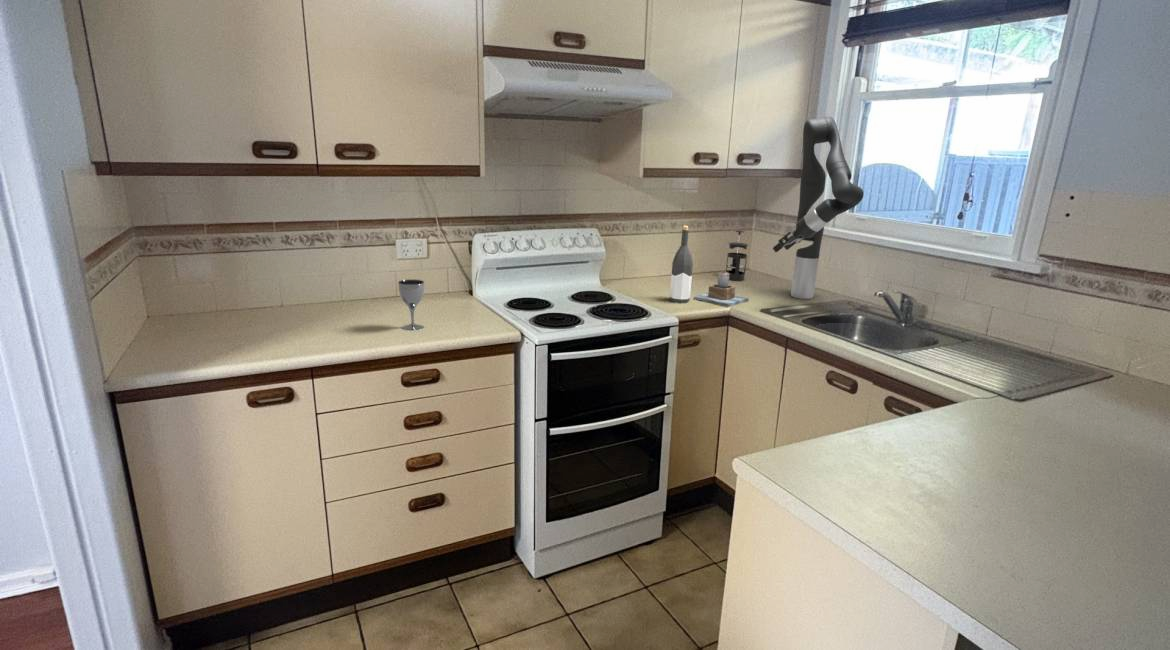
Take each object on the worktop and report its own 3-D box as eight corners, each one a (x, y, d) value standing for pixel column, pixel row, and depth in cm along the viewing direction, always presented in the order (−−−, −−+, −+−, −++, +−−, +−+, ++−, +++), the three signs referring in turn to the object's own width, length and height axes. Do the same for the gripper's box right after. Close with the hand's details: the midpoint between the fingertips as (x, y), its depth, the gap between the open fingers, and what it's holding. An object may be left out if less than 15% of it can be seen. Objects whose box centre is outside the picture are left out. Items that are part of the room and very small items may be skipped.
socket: (714, 293, 268) (715, 280, 267) (748, 300, 258) (749, 287, 256) (693, 299, 257) (694, 285, 256) (727, 307, 247) (729, 292, 245)
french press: (746, 282, 294) (752, 232, 288) (726, 280, 295) (731, 231, 289) (742, 276, 306) (747, 229, 299) (722, 275, 306) (727, 228, 300)
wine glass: (395, 326, 204) (393, 281, 200) (416, 322, 210) (415, 278, 206) (408, 332, 199) (407, 285, 195) (430, 327, 205) (429, 282, 200)
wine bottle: (688, 298, 257) (694, 225, 249) (690, 303, 250) (697, 227, 241) (668, 297, 258) (674, 224, 249) (670, 302, 250) (676, 227, 241)
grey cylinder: (719, 295, 260) (722, 271, 257) (729, 297, 257) (731, 273, 254) (713, 296, 257) (716, 272, 254) (723, 299, 254) (725, 274, 251)
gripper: (815, 213, 238) (783, 239, 249) (797, 216, 228) (765, 243, 239) (826, 229, 236) (794, 254, 247) (809, 232, 226) (776, 259, 237)
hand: (779, 249), depth 243 cm, fingers open, 8 cm apart
